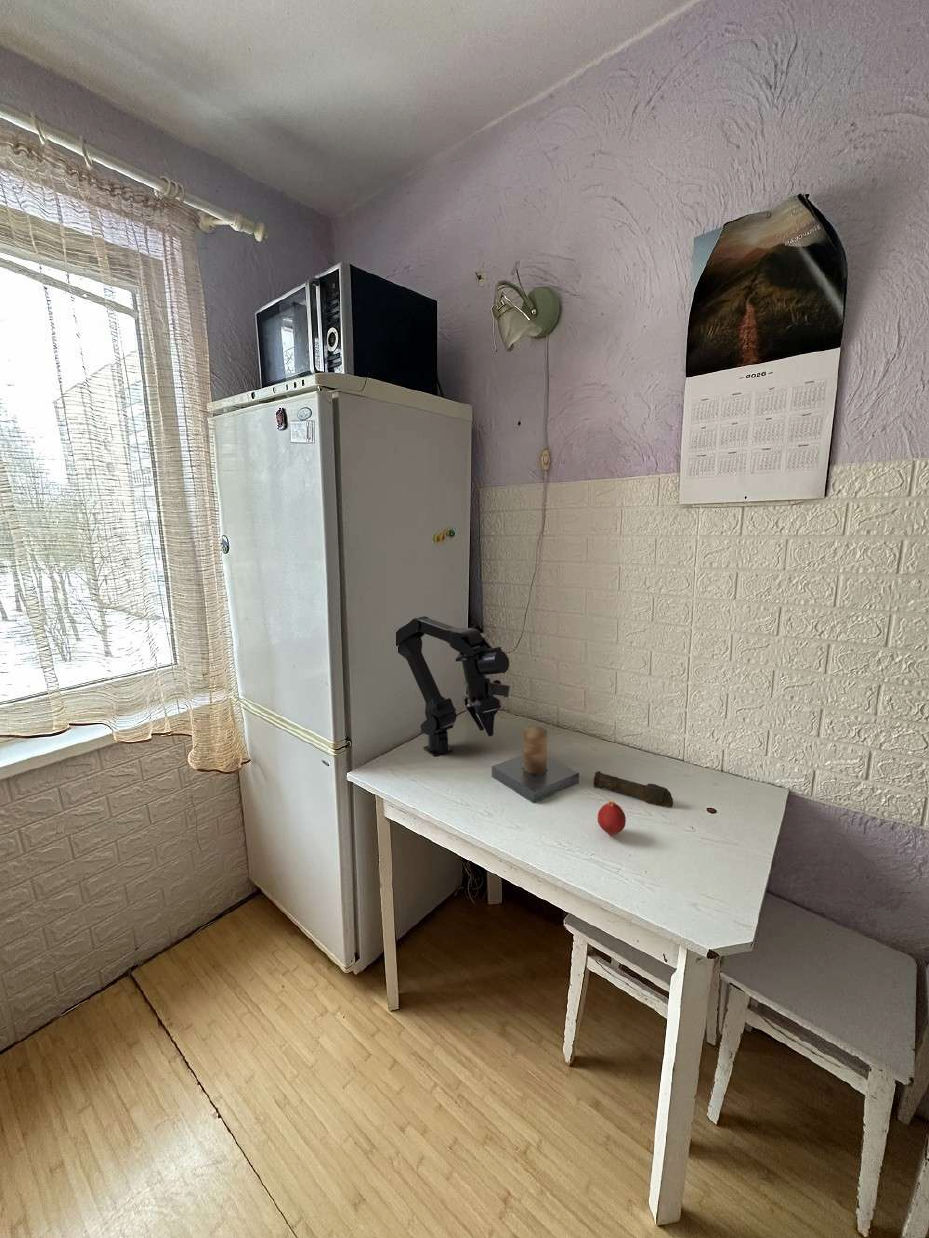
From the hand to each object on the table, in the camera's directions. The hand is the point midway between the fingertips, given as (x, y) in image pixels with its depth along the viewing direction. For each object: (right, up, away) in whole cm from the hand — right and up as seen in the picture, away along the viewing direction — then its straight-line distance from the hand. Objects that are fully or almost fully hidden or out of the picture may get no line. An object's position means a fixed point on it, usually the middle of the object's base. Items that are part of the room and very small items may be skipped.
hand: (486, 733), depth 135 cm
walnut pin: (+13, -11, -3) cm, 17 cm away
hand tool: (+36, -13, -10) cm, 39 cm away
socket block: (+13, -12, -3) cm, 17 cm away
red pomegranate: (+26, -16, -26) cm, 40 cm away
